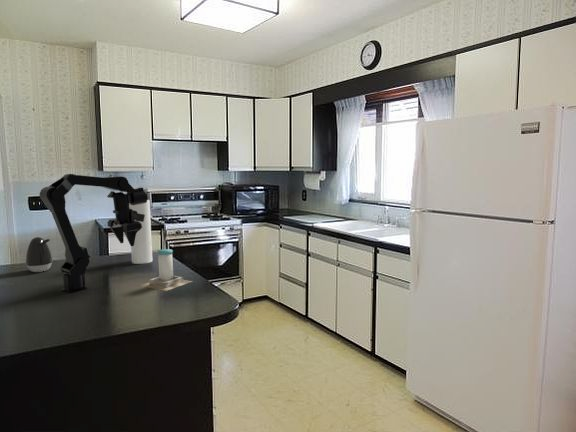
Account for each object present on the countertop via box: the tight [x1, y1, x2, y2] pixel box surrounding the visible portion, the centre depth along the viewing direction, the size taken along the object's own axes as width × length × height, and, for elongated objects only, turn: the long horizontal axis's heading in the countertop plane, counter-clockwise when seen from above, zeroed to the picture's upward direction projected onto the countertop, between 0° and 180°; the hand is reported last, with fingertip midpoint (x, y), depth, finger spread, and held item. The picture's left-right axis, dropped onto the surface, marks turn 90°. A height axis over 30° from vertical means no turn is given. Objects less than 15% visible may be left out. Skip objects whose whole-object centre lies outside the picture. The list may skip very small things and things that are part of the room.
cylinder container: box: [129, 199, 153, 265], centre depth 197 cm, size 9×9×30 cm
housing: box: [139, 275, 194, 292], centre depth 159 cm, size 14×14×2 cm
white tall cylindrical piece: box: [157, 248, 174, 282], centre depth 159 cm, size 6×6×13 cm
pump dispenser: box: [25, 236, 53, 273], centre depth 181 cm, size 10×10×15 cm
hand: (127, 244), depth 169 cm, fingers open, 9 cm apart
